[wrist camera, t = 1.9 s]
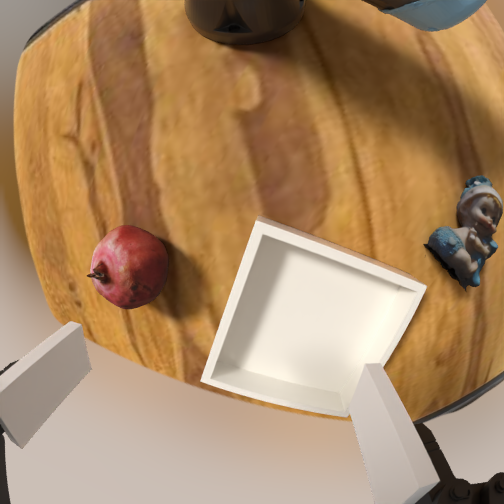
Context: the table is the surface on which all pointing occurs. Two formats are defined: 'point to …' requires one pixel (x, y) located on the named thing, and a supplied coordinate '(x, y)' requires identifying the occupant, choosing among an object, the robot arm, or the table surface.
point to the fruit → (129, 267)
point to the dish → (307, 320)
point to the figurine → (469, 233)
